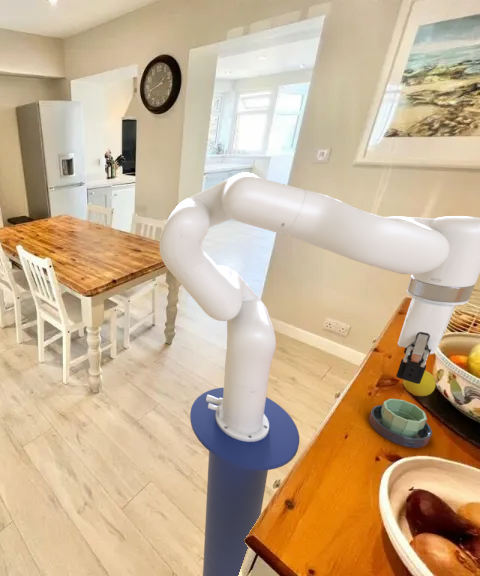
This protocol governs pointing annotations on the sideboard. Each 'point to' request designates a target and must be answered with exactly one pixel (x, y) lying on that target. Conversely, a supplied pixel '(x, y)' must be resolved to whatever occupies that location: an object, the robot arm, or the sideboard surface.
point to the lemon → (421, 385)
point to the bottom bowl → (415, 442)
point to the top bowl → (402, 417)
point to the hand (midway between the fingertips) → (411, 367)
